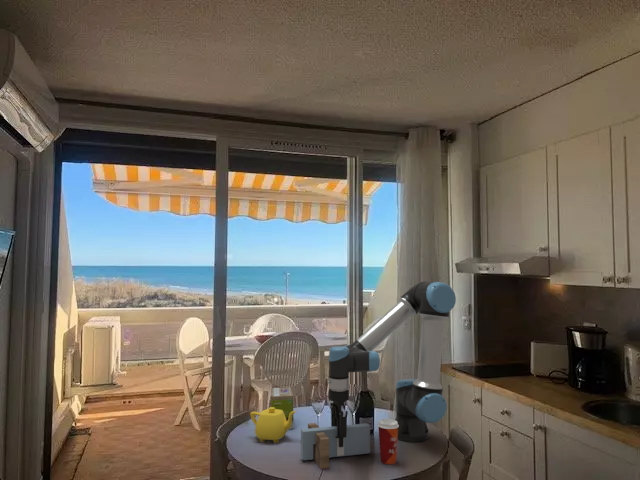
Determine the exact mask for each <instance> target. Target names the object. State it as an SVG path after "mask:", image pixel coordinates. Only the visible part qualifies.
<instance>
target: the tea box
mask: <svg viewBox="0 0 640 480" xmlns="http://www.w3.org/2000/svg"><path fill="white" fill-rule="evenodd" d="M270 407H274V408H275V409H279V410H282V411H283V412H284V414H285V417H286V420H287V421H288V418H289V414H290V412H293V411H294V393H293V390H292V387H290V386H289V387H270ZM293 429H294V416H293V417H292V424H291V427H290V428H289V429H288V430H293Z"/></svg>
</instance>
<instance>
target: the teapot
mask: <svg viewBox="0 0 640 480" xmlns="http://www.w3.org/2000/svg"><path fill="white" fill-rule="evenodd" d="M295 413H297V410H293V412H290V414H289V418H288V421H287V420H286V417H285V414H284V412H283V411H282V410H279V409H275V408H274V407H271V406H270V407H268V408H266V409H264V410H262V411H260V412H259V411H251V412H250V415H249V416H250V418H251V419H250V420H251V421H252V422H253V424H254V426H255V427H254V428H255V429H254V433H255V435H256V437H257V438H258V442H263V443H264V442H265V441H266V440H268V441H269V440H270V441H272V443H275V444H277V443H280V439H282V438H284V437H285V436H286V434H287V433H288V430H290V429H289V428H290V427H291V424H292V417H293V418H294V414H295ZM256 415H257V416H258V418H257V420H256Z"/></svg>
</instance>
